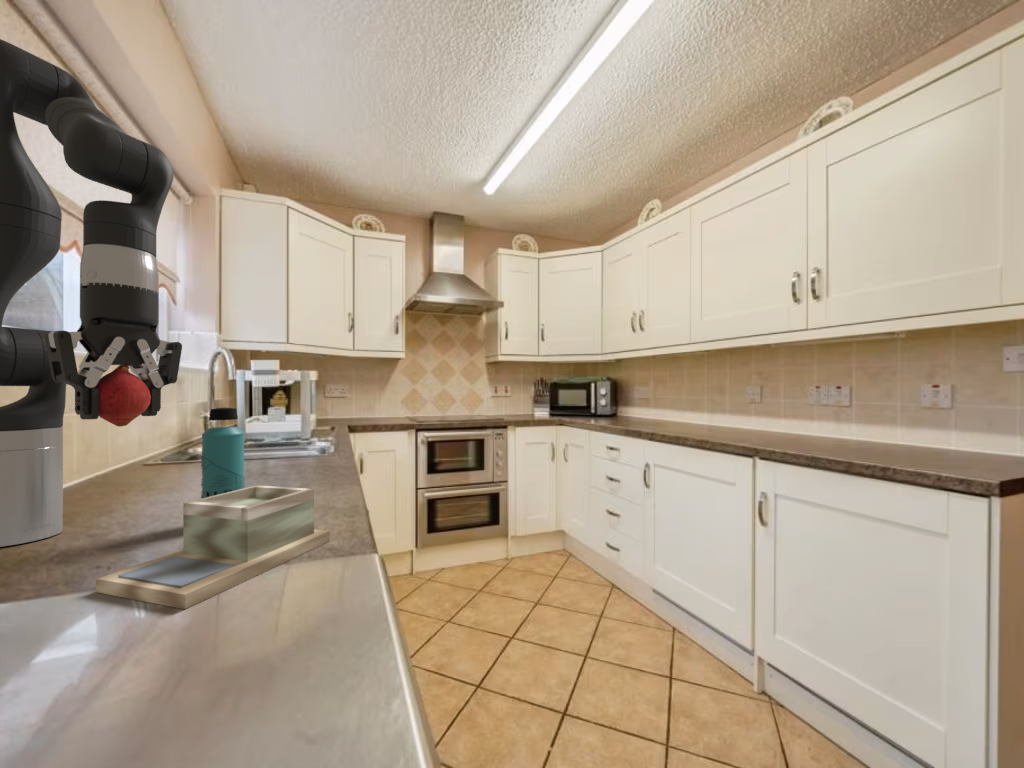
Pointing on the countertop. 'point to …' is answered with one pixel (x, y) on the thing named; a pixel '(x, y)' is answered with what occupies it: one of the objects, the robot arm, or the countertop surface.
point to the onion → (122, 396)
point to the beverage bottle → (222, 456)
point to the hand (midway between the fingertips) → (120, 417)
